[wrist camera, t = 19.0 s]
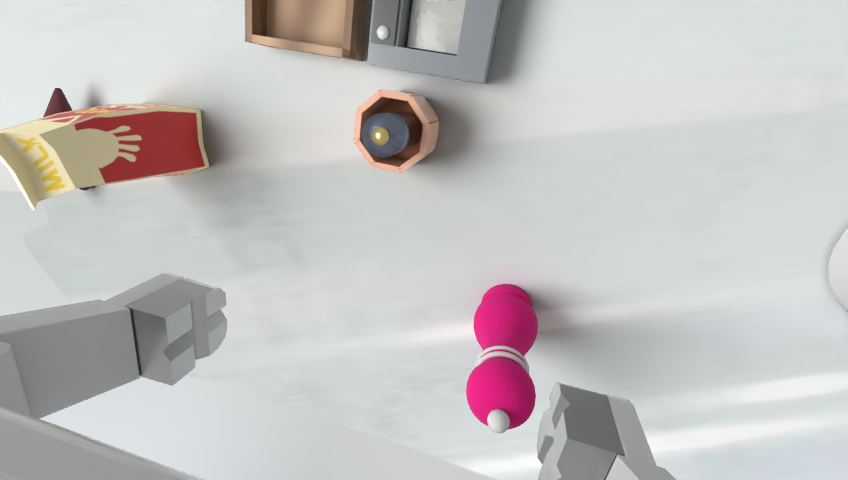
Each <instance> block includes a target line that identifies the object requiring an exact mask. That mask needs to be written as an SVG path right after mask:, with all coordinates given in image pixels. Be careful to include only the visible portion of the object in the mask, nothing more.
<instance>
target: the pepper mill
mask: <svg viewBox="0 0 848 480" xmlns="http://www.w3.org/2000/svg"><path fill="white" fill-rule="evenodd" d="M537 328H538V323H537V318H536V315H535V313H534V311H533V309H532V303H531V300H530V298H529V296H528V295H527V294H526V293H525V292H524V291H523V290H522V289H520V288H519V287H516V286H513V285H509V284H502V285H497V286H494V287H492V288H491V289H489V290H488V291H487V292H486V293H485V295H484V296H483V298H482V302H481V304H480V306H479V307H478V309H477V311H476V313H475V316H474V331H475V335H476V338H477V341H478V342H479V344H480V346H481V347H482V349H483V352H482V353H481V354H480V355H479V357H478V359H477V361H476V368H475V369H474V370H473V371H472V373H471V374H470V376H469V379H468V382H467V388H466V395H467V400H468V404H469V407H470V409H471V411H472V412H473V414H474V415H475V416H476V418H478V419H479V420H480V421H481V422H482V423H484V424H485V425H487V426H489V428H490V429H491V430H492V431H493V432H495V433H503V432H505V431H506V430H507V429H512V428H515V427H518V426H520V425H521V424H523V423H524V422H525V421H526V420H527V419H528V418H529V417H530V415H531V413H532V411H533V409H534V406H535V398H536V394H535V387H534V384H533V382H532V379H531V377H530V376H529V366H528V363H527V361H526V359H525V358H524V355H525V354H526V353H527V352H528V351H529V349H530V348H531V347H532V345H533V343H534V341H535V339H536V335H537Z"/></svg>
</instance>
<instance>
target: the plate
mask: <svg viewBox="0 0 848 480" xmlns="http://www.w3.org/2000/svg"><path fill="white" fill-rule="evenodd" d="M465 3H466V0H413V3H412V11H411V19H410V27H409V35H408V42H407V47H409V48H414V49H421V50H427V51H434V52H440V53H447V54H454V55H457V50H458V45H459V39H460V33H461V27H462V21H463V15H464V9H465Z"/></svg>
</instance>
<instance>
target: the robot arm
mask: <svg viewBox="0 0 848 480" xmlns="http://www.w3.org/2000/svg"><path fill="white" fill-rule="evenodd" d="M828 279H829V284H830V287H831V290H832V292H833V294H834V296H835V297H836V299H837V300H838V301H839V302H840V304H841V305H842V306H843V307H844V308H845V309H846V310H847V311H848V228H847V230H846V231H845V232H844V233H843V234H842V236H841V237H840V239H839V240H838V242H837V243H836V245H835V247H834V249H833V251H832V254H831V257H830V260H829V266H828ZM225 305H226V295H225V292H224V291H223V290H222V289H220V288H217V287H214V286H211V285H208V284H204V283H201V282H198V281H194V280H191V279H188V278H184V277H181V276H177V275H173V274H161V275H159V276H157V277H155V278H152V279H150V280H148V281H146V282H144V283H142V284H140V285H138V286H136V287H134V288H131V289H129V290H127V291H125V292H123V293H121V294H119V295H117V296H115V297H112V298H110V299H108V300H106V301H103V300H94V301H88V302H82V303H76V304H70V305H64V306H58V307H52V308H46V309H41V310H34V311H29V312H23V313H17V314H11V315H5V316H0V480H203V479H201V478H198V477H195V476H193V475H190V474H187V473H184V472H182V471H179V470H176V469H173V468H171V467H168V466H165V465H163V464H160V463H157V462H155V461H152V460H149V459H147V458H144V457H141V456H139V455H136V454H133V453H130V452H128V451H125V450H122V449H119V448H117V447H114V446H111V445H108V444H106V443H103V442H100V441H98V440H95V439H92V438H90V437H87V436H84V435H81V434H79V433H76V432H73V431H70V430H68V429H65V428H62V427H59V426H57V425H54V424H52V423H49V422H46V421H43V420H41V419H39V418H41V417H44V416H47V415H49V414H52V413H54V412H57V411H59V410H62V409H64V408H67V407H69V406H72V405H74V404H76V403H79V402H81V401H84V400H86V399H89V398H91V397H94V396H96V395H98V394H101V393H104V392H106V391H109V390H111V389H114V388H116V387H119V386H121V385H124V384H126V383H129V382H131V381H133V380H136V379H138V378H140V376H141V377H145V378H148V379H152V380H155V381H159V382H162V383H165V384H169V385H172V386H173V385H174V384H175V383H177V382H178V381H179V380H180V379H181V378H183V377H184V376H185V375H186V374H188V373H189V372H190V371H191V370H193V369H194V368H195V366H196V361H197V359H200V358H204V357H207V356H210V355H211V354H212V353H213V352H214V351H215V350H217V349H218V348H219V346H220V344H221V343H222V341H223V340H224V338H225V335H226V331H227V319H226V317H225V316H224V314H223V313H222V311H221V310H222V309H223V308H224V307H225ZM550 407H551V408H550V409H548V410H546V411H545V412H544V413H543V417H542V420H541V423H540V428H539V433H538V442H537V454H538V459H539V460H540V461H541V463H542V464H543V465H542V468H541V471H540V473H539V480H676V479H675V478H674V477H673V476H672V475H671V474H670V473H669V472H668V471H667V470H666V469H664V468H661V467H658V466H656V463H655V460H654V458H653V455H652V453H651V450H650V447H649V445H648V442H647V440H646V437H645V434H644V432H643V429H642V426H641V424H640V421H639V419H638V416H637V413H636V411H635V408H634V406H633V404H632V403H631V402H630V401H629V400H626V399H622V398H618V397H614V396H610V395H606V394H604V395H603V394H599V393H595V392H591V391H588V390H584V389H580V388H577V387H573V386H569V385H566V384H562V383H558V382H556V383H555V385H554V386H553V388H552V391H551V394H550Z"/></svg>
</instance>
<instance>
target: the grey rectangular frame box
mask: <svg viewBox="0 0 848 480" xmlns="http://www.w3.org/2000/svg"><path fill="white" fill-rule="evenodd" d="M502 1H503V0H466V3H465V9H464V15H463V21H462V27H461V33H460V39H459V45H458V50H457V56H455V55H448V54H442V53H435V52H429V51H422V50H416V49H409V48H407V42H408V35H409V27H410V19H411V11H412V3H413V0H373V3H372V14H371V25H370V36H369V47H368V58H367V64H369V65H373V66H378V67H384V68H390V69H396V70H402V71H408V72H414V73H420V74H426V75H432V76H438V77H445V78H451V79H457V80H463V81H469V82H475V83H481V84H486V81H487V76H488V71H489V66H490V61H491V56H492V51H493V46H494V41H495V36H496V31H497V26H498V21H499V16H500V11H501V6H502Z"/></svg>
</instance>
